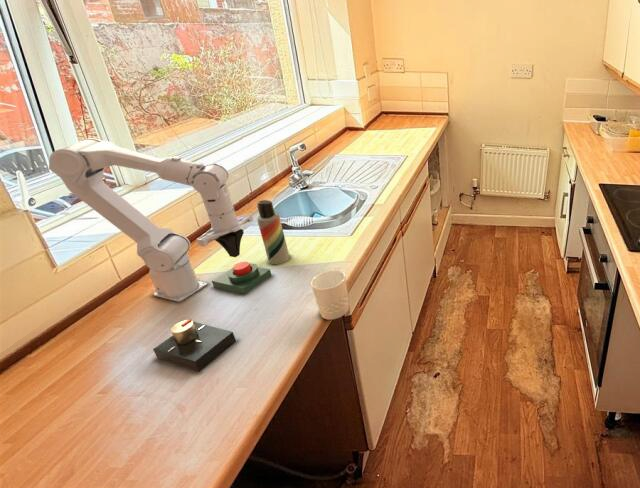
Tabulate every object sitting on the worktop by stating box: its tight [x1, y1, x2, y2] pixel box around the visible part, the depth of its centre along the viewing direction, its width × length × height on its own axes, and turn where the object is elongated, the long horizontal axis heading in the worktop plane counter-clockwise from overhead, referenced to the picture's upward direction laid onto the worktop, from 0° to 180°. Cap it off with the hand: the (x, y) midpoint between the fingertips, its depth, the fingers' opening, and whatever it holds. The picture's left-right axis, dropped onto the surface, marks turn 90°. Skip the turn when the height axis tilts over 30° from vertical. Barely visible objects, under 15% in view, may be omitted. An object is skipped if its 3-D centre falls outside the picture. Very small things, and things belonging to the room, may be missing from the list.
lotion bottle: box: [256, 199, 290, 265], centre depth 120 cm, size 6×6×20 cm
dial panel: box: [152, 321, 237, 373], centre depth 90 cm, size 12×9×3 cm
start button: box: [232, 261, 251, 275], centre depth 112 cm, size 4×4×2 cm
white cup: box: [310, 269, 350, 321], centre depth 101 cm, size 8×8×10 cm
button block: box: [211, 262, 272, 295], centre depth 113 cm, size 11×9×4 cm
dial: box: [170, 318, 198, 345], centre depth 89 cm, size 4×4×4 cm
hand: (234, 255), depth 109 cm, fingers closed
